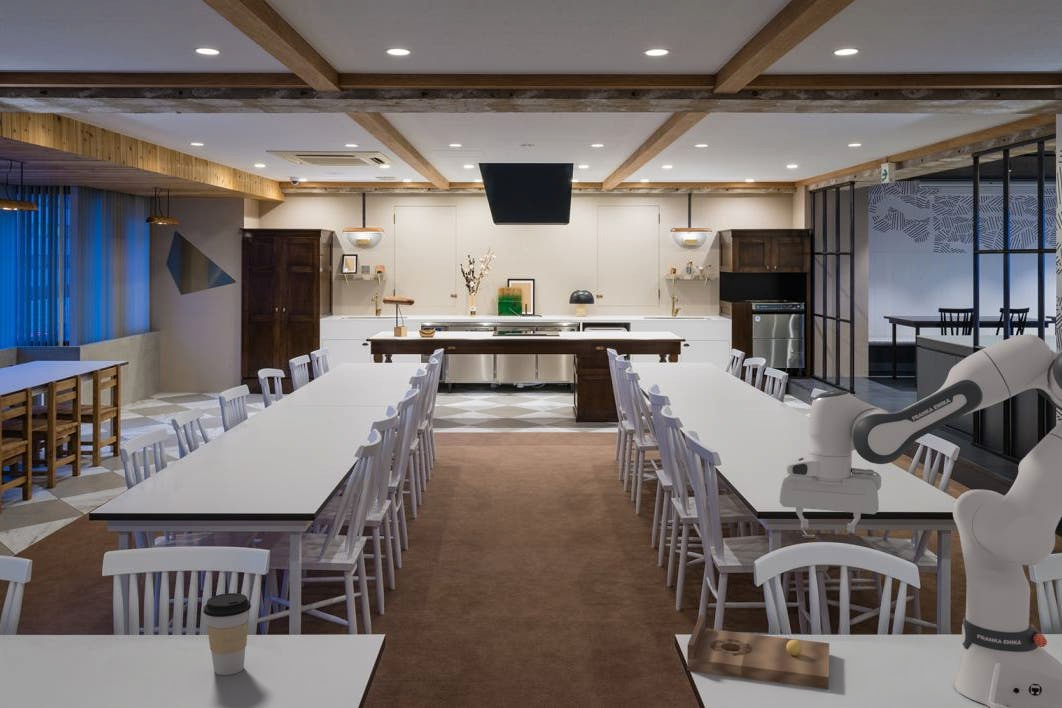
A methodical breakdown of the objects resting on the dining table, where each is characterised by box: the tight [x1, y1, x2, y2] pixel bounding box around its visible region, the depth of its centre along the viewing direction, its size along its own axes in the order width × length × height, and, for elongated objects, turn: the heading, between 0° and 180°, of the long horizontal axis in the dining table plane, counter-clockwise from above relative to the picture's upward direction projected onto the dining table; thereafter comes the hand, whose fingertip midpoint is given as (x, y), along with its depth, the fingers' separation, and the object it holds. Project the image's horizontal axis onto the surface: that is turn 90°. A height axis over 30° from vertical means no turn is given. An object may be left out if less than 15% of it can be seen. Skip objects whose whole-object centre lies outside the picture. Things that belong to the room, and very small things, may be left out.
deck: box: [686, 614, 830, 690], centre depth 193 cm, size 28×18×6 cm, turn 71°
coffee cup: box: [202, 592, 252, 676], centre depth 189 cm, size 9×9×15 cm
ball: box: [786, 639, 802, 656], centre depth 190 cm, size 3×3×3 cm
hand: (827, 530), depth 194 cm, fingers open, 8 cm apart
